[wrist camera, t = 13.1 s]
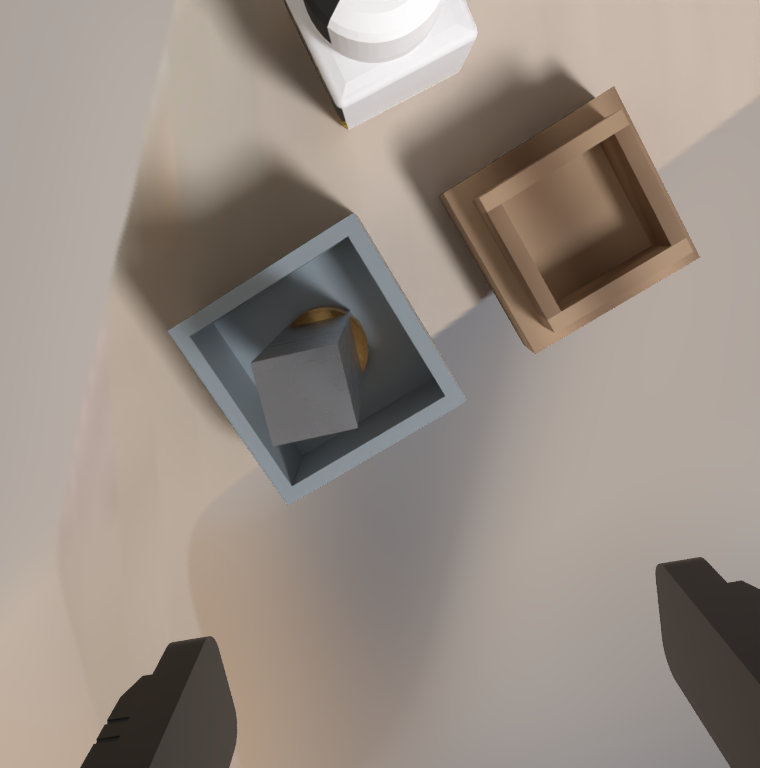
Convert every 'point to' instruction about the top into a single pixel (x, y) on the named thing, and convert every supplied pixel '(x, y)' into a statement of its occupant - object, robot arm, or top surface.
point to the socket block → (570, 222)
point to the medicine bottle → (382, 49)
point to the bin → (280, 308)
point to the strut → (313, 375)
